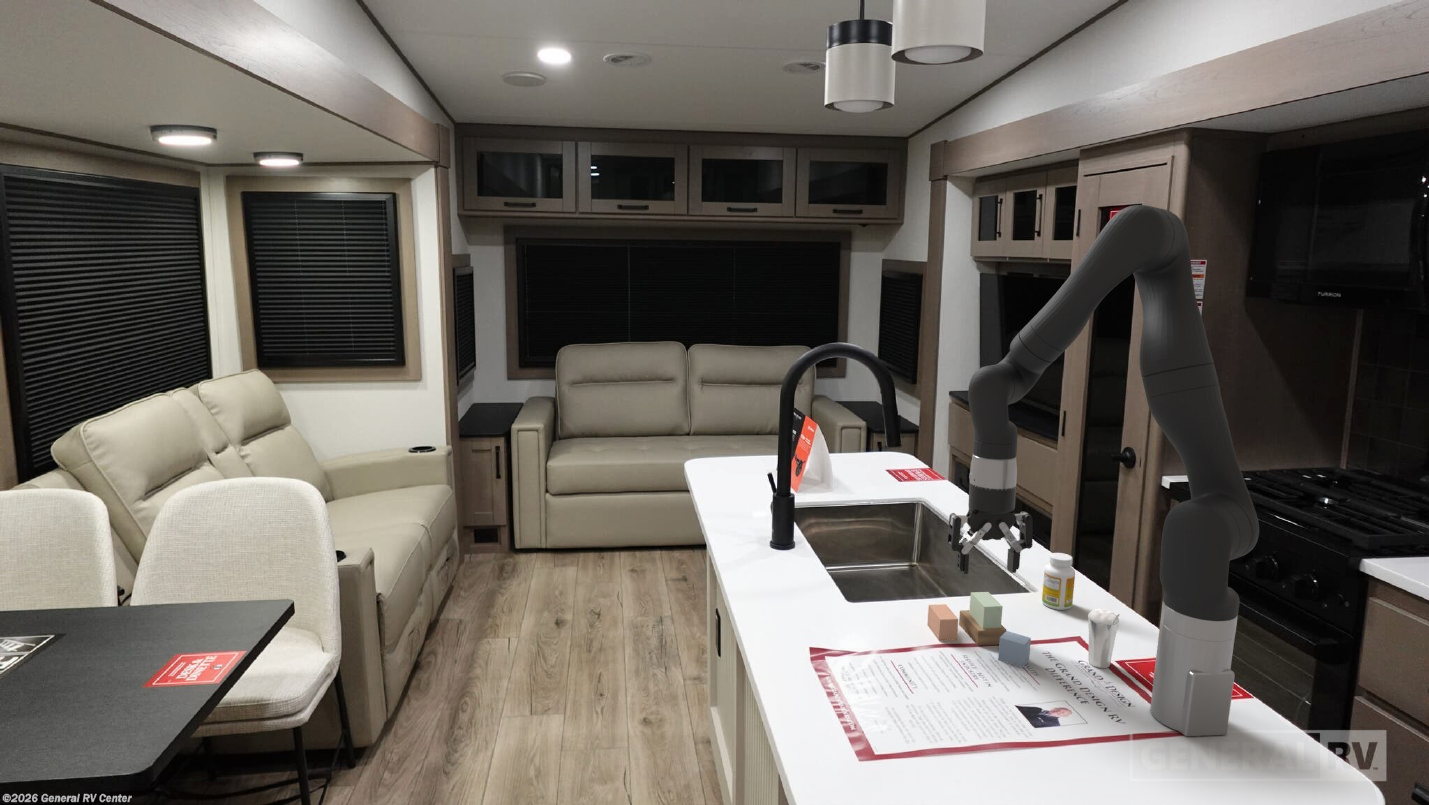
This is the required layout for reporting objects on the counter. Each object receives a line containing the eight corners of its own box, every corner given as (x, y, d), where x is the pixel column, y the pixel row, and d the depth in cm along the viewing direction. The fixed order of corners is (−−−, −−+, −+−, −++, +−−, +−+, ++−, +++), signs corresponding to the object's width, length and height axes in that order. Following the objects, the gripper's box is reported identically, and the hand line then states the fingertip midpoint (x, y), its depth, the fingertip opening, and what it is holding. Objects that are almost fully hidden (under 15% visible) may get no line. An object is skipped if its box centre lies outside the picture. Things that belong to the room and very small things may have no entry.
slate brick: (1029, 660, 139) (1030, 637, 138) (1022, 667, 136) (1024, 645, 136) (1004, 653, 141) (1006, 630, 140) (998, 660, 139) (999, 637, 138)
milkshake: (1100, 674, 134) (1106, 616, 132) (1077, 658, 139) (1083, 602, 137) (1124, 671, 135) (1130, 613, 133) (1100, 655, 140) (1106, 599, 139)
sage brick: (1000, 628, 144) (1002, 606, 143) (982, 628, 144) (984, 606, 143) (986, 613, 150) (988, 592, 149) (969, 613, 150) (970, 592, 149)
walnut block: (1005, 646, 144) (1006, 629, 144) (977, 647, 144) (978, 630, 143) (985, 625, 152) (986, 609, 151) (958, 626, 151) (959, 610, 151)
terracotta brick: (956, 640, 145) (958, 619, 145) (938, 641, 145) (940, 619, 144) (944, 625, 151) (946, 604, 151) (927, 625, 151) (928, 604, 150)
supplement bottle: (1067, 599, 162) (1071, 551, 161) (1075, 611, 157) (1080, 562, 155) (1038, 598, 163) (1042, 550, 161) (1046, 610, 158) (1050, 561, 156)
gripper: (960, 488, 138) (955, 581, 141) (1043, 486, 139) (1037, 579, 142) (944, 476, 146) (940, 565, 148) (1023, 474, 147) (1017, 563, 150)
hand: (987, 572), depth 145 cm, fingers open, 8 cm apart
